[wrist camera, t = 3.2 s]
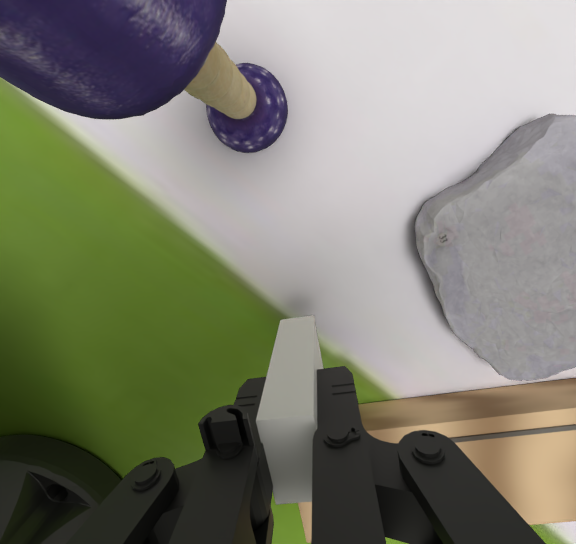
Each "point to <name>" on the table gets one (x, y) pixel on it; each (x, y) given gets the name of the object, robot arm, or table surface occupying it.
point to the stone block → (510, 252)
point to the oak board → (496, 441)
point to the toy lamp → (138, 63)
